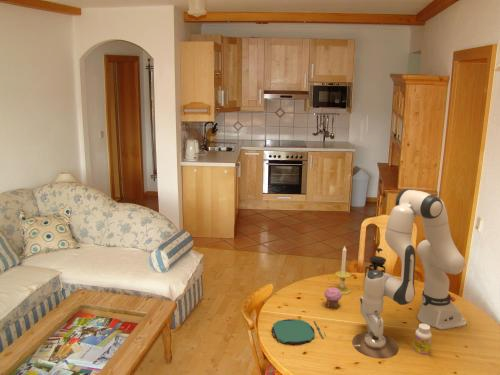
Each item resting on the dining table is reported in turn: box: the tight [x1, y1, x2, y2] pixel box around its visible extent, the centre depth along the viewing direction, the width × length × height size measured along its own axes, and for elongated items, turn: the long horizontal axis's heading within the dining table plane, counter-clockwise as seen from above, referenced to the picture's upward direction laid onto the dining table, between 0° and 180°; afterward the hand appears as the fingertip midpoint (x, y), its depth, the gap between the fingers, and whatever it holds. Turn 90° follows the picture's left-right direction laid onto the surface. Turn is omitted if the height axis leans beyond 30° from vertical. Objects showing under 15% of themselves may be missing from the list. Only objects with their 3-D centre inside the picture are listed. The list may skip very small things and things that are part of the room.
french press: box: [363, 247, 387, 282], centre depth 257 cm, size 12×9×23 cm
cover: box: [364, 333, 386, 350], centre depth 202 cm, size 9×9×3 cm
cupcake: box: [324, 286, 343, 309], centre depth 237 cm, size 9×9×10 cm
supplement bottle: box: [413, 323, 433, 356], centre depth 197 cm, size 7×7×13 cm
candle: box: [334, 245, 352, 295], centre depth 252 cm, size 10×10×27 cm
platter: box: [351, 331, 400, 360], centre depth 202 cm, size 20×20×1 cm
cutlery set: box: [271, 318, 327, 344], centre depth 213 cm, size 20×30×2 cm, turn 98°
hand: (370, 333), depth 207 cm, fingers closed
